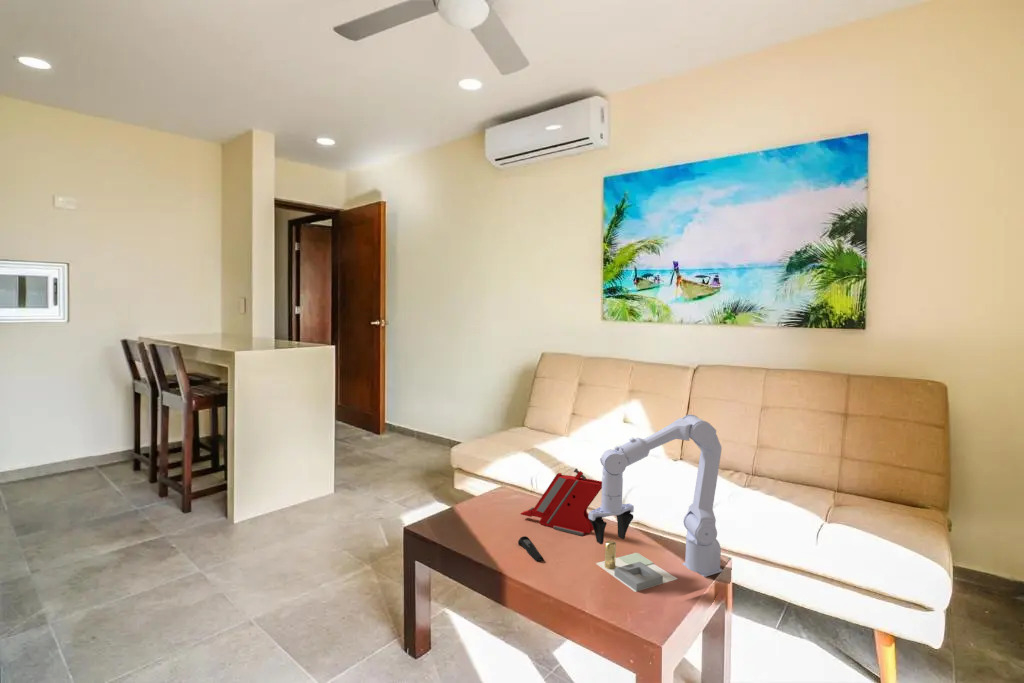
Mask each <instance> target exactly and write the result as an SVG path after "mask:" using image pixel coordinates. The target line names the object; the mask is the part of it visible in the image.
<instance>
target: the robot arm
mask: <svg viewBox="0 0 1024 683" xmlns="http://www.w3.org/2000/svg"><path fill="white" fill-rule="evenodd" d="M674 440H682V441H687V442H690V440H692V441H693V442H694V444H695V445H696V446H697V447H698V448H699V449H700V452H699V453H700V454H699V460H698V466H697V467H698V468H697V473H696V474H697V475H696V480H695V486H694V494H693V500H692V503H691V504H690V505H689V506H688V510H687V512H686V514H685V516H684V517H683V526H684V528H685V529H686V530H687V531H686V535H685V536H686V537H685V557H684V558H685V559H684V560H685V561H684V562H683V563H681V565H683V566H685V568H687V570H688V571H689V570H690V571H691V572H694V573H697V574H699V575H701V576H702V577H703V578H706V577H708V576H709V577H710V576H713V575H715V574H719V573H723V569H722V568H721V558H722V557H721V556H722V554H721V553H722V552H721V551H722V549H721V544H720V542H719V541H718V539H717V536H718V531H717V527H716V521H717V520H716V516H715V513H714V510H713V508H714V501H715V494H716V489H717V488H716V487H717V481H718V475H719V471H720V462H721V456H722V448H723V447H722V444H721V442H720V440H719V438H718V435H717V429H716V428H715V427H714V426H713V425H711V424H710V423H709V422H708V421H705V420H703V419H702V418H699V417H698V416H697V415H694V414H686V415H684V416H683V417H680V418H677V419H676V420H674V421H672V422H671V423H670V424H668V425H666V426H665V427H663V428H661V429H660V430H658V431H655V432H654V433H652V434H651V435H649V436H647V437H645V438H640V437H636V438H634V437H631V438H630V439H629V441H628V442H625V443H624V444H622V445H620V446H618V445H617V446H614V449H607V450H605V451H604V452H603V454H602V455H601V457H600V459H599V461H600V463H601V465H602V477H601V481H602V488H601V503H600V506H599V507H596V508H595V509H593V510H590V511H589V510H588V515H589V516H588V518H589V520H590V522H591V524H592V526H593V529H594V530H593V531H594V536H595V539H596V540H595V541H596V543H597V544H600V545H603V544H604V542H605V541H604V538H605V531H606V530H605V529H606V527H607V524H608V523H607V522H606V521H604V518H606V517H611V516H616V521H617V537H618V538H619V539H621V540H625V539H626V533H627V531H628V529H629V526H630V525H631V522H632V521H633V519H634V514H633V513H634V512H635V511H634V510H635V506H634V505H633V504H631V503H623V484H624V482H623V481H624V478H623V474H624V471H625V470H626V468H627V467H629V466H631V465H633V464H635V463H637V462H639V461H641V460H642V459H645V458H647V457H648V456H649V454H650V451H651V450H653V449H655V448H657V447H660V446H663V445H665V444H667V443H669V442H672V441H674Z"/></svg>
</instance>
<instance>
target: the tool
mask: <svg viewBox="0 0 1024 683" xmlns="http://www.w3.org/2000/svg"><path fill="white" fill-rule="evenodd" d="M578 469H579V468H577V467H576V468H575V469H574V470H573V473H575V474H576V475H575V476H574V475H567V474H563V473H562V472H558V473H556V474H555V476H554V478H553V479H552V480H551V482H550V484H549V485H548V487H546V490H545V491H544V493H543V494H542V495H541V497H540V499H539V500H538V502H537V503H536V505H535V506H534V507H530V508H529V509H528V510H525V511H522V512H521V513H520V516H521V515H522V516H525V517H530V518H531V517H536V518H540V520H539V521H538V523H539V524H540V525H542V526H547V527H550V528H553V530H556V531H560V532H563V533H568V534H573V535H576V536H577V535H578V536H580V537H585V535H586V534H591V533H592V531H594V529H593V526H592V524H591V522H590V520H589V518H588V516H589V512H588V508H589V507H590V505H591V503H592V502H593V501H594V500H595V498H596V497H597V495H598V494H599V492H600V491H602V480H598V479H597V480H596V479H592V478H587V477H586V476H585V475H584V472H582V471H581V470H578Z"/></svg>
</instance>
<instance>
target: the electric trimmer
mask: <svg viewBox="0 0 1024 683" xmlns="http://www.w3.org/2000/svg"><path fill="white" fill-rule="evenodd" d="M517 542H518V545H519V546H522V547H523V549H524V550H525V551H526V553H527V554H528V555H529V556H530V557H531V558H532V559H533V560H534V561H535V562H539V561H540V562H543V561H544V558H543V555H542V554H541V553H540V552H539V550H538V549H537V548H536V546H535V545H534V543H533V542H532V540H531V539H530V538H529V537H528V536H526V535H525V536H521V537H520V538H519V539H518V541H517Z"/></svg>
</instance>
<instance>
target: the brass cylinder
mask: <svg viewBox="0 0 1024 683" xmlns="http://www.w3.org/2000/svg"><path fill="white" fill-rule="evenodd" d="M604 542H605V544H604V545H605V547H604V548H605V549H604V561H605V568H607V569H615V564H616V558H617V556H616V555H617V542H616V541H615V540H611V539H610V540H606V541H604Z"/></svg>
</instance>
